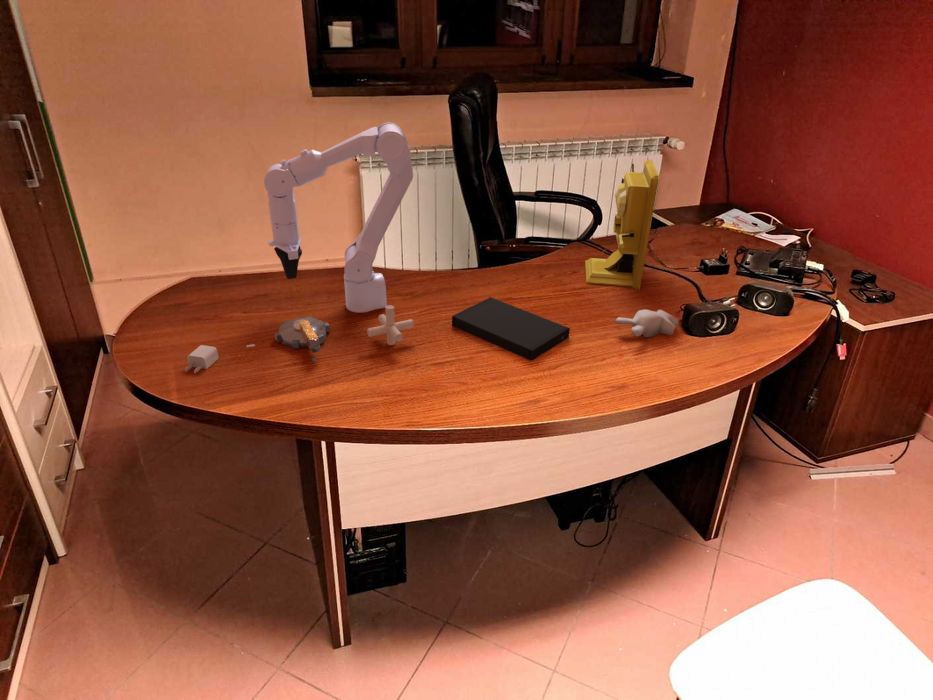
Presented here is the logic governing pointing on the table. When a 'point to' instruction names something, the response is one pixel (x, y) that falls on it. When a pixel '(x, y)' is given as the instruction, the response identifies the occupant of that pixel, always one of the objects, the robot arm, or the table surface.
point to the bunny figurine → (650, 323)
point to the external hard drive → (511, 328)
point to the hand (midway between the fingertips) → (291, 277)
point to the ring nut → (303, 333)
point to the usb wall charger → (202, 357)
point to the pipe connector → (390, 326)
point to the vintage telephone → (628, 231)
